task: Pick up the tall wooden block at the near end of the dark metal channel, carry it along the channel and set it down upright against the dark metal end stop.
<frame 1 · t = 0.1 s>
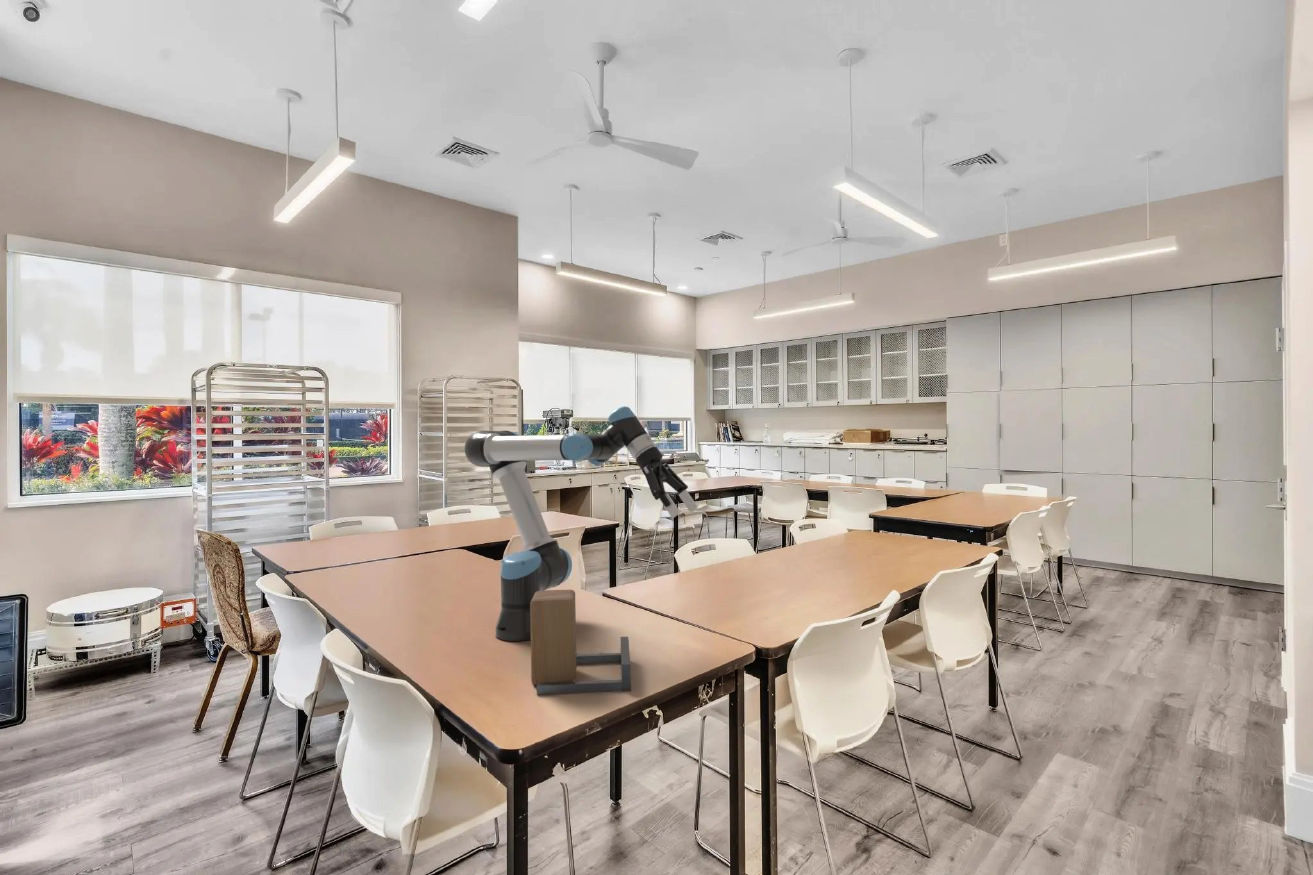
hand: (685, 512, 173), 36 cm above the table, tool tilted 35°, fingers open, 13 cm apart
end stop channel: (583, 676, 146), on the table
wooden block: (554, 678, 145), on the table
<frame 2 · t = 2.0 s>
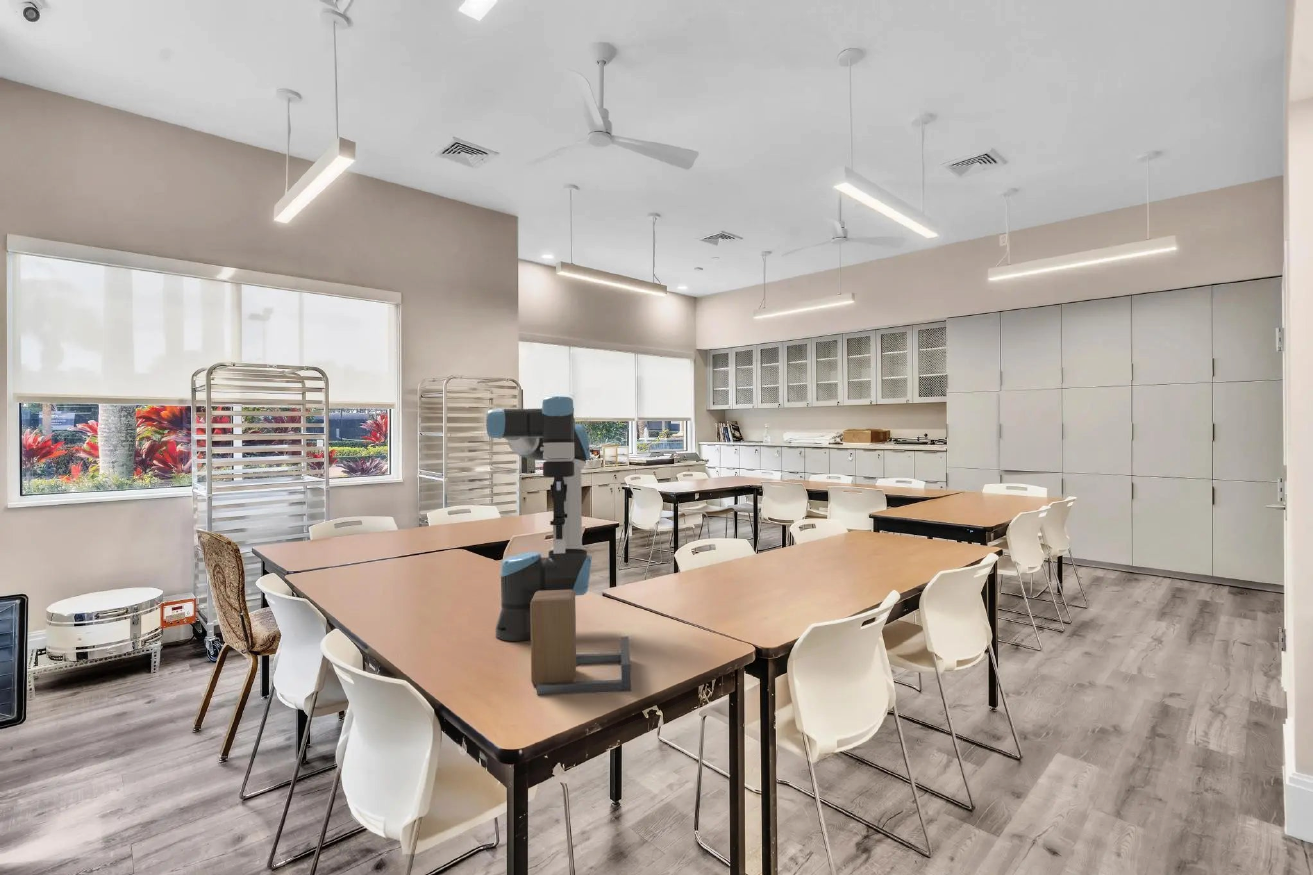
hand: (559, 548, 146), 31 cm above the table, tool pointing down, fingers open, 13 cm apart
nothing on the table moved.
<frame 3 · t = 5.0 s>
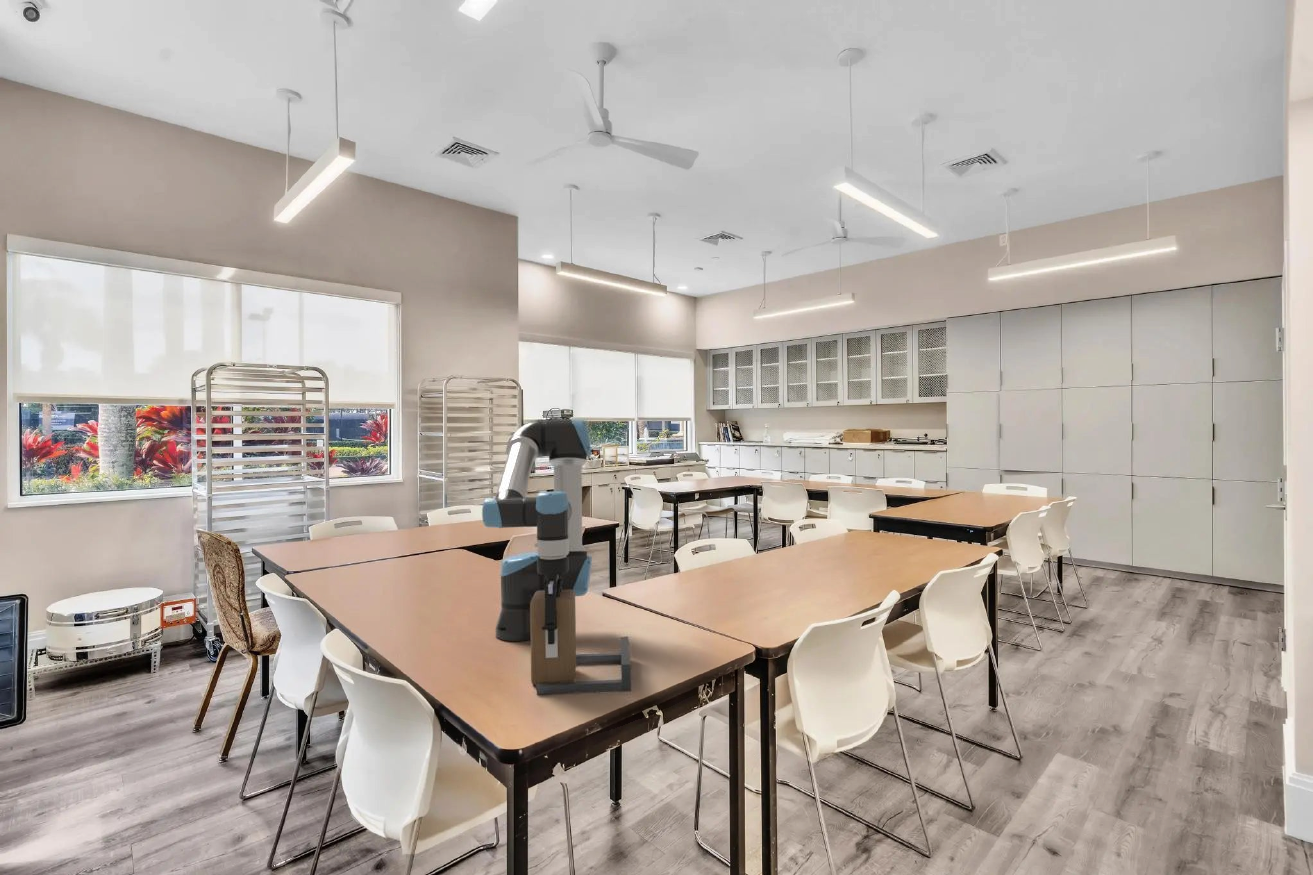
hand: (554, 649, 145), 7 cm above the table, tool pointing down, fingers closed on wooden block, 10 cm apart
wooden block: (554, 678, 145), on the table, touching gripper
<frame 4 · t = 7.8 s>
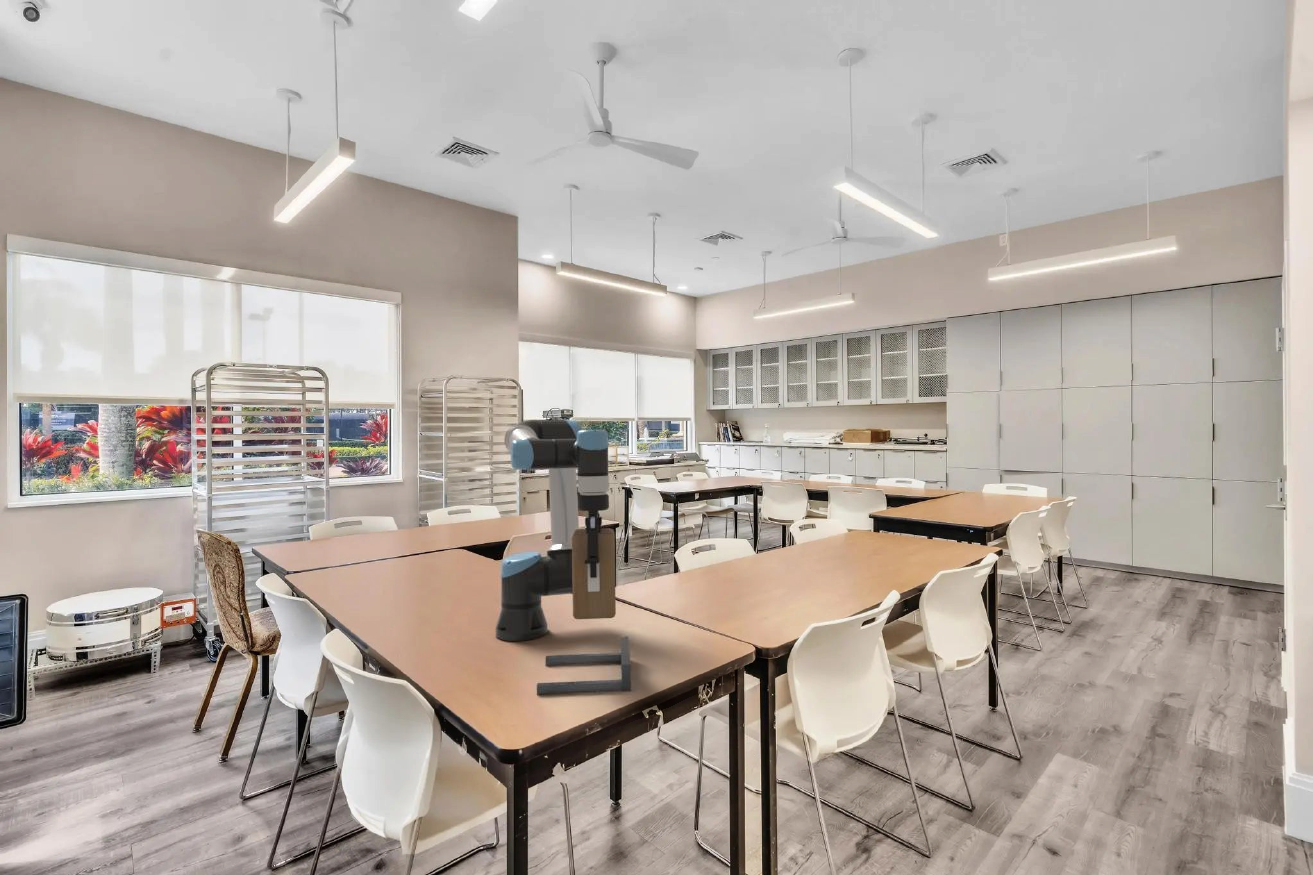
hand: (594, 585, 146), 22 cm above the table, tool pointing down, fingers closed on wooden block, 10 cm apart
wooden block: (594, 614, 146), point 15 cm above the table, touching gripper
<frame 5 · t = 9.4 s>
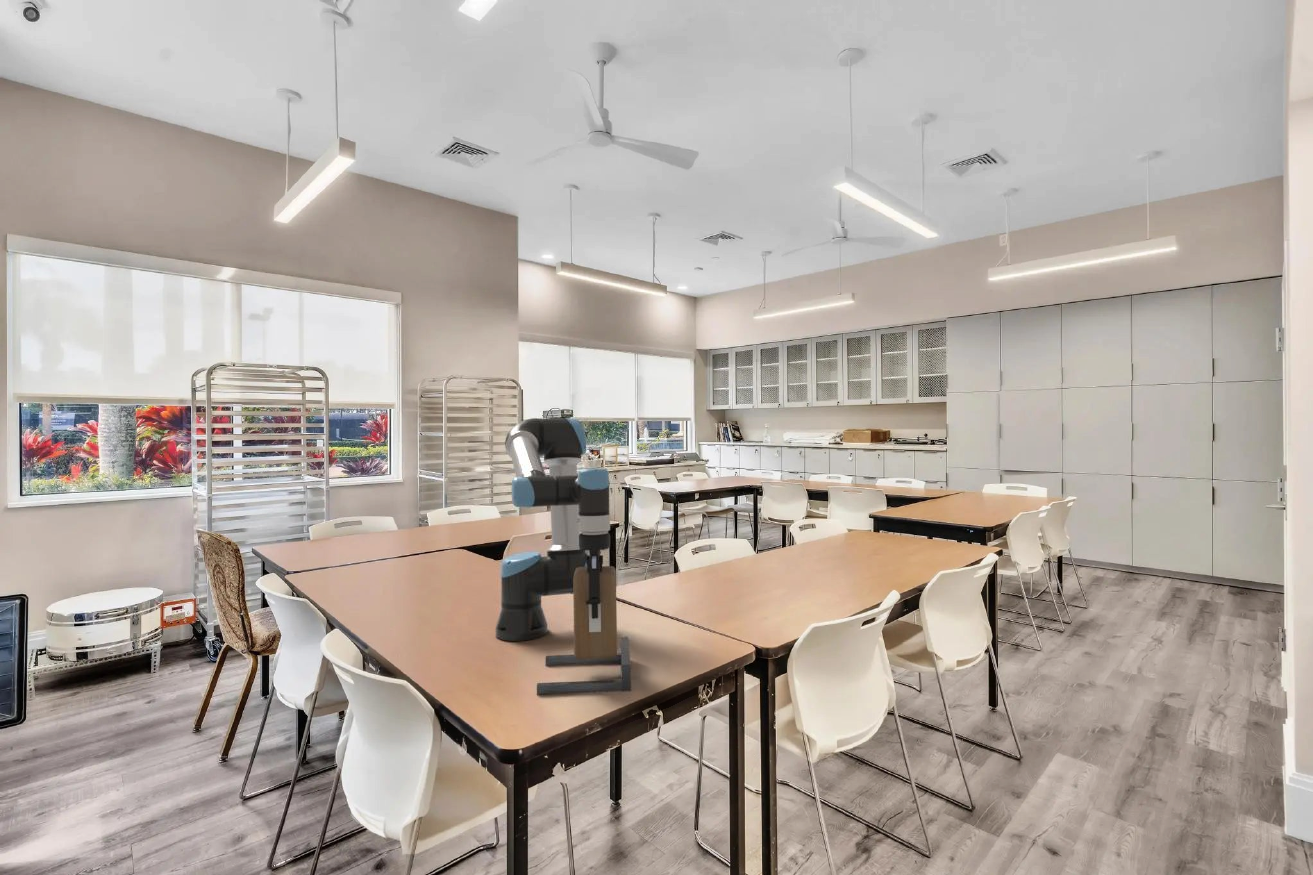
hand: (595, 624, 146), 12 cm above the table, tool pointing down, fingers closed on wooden block, 10 cm apart
wooden block: (596, 653, 146), point 5 cm above the table, touching gripper
when the fingers open (8 cm above the table, at t = 10.8 s): wooden block drops 1 cm, on the table.
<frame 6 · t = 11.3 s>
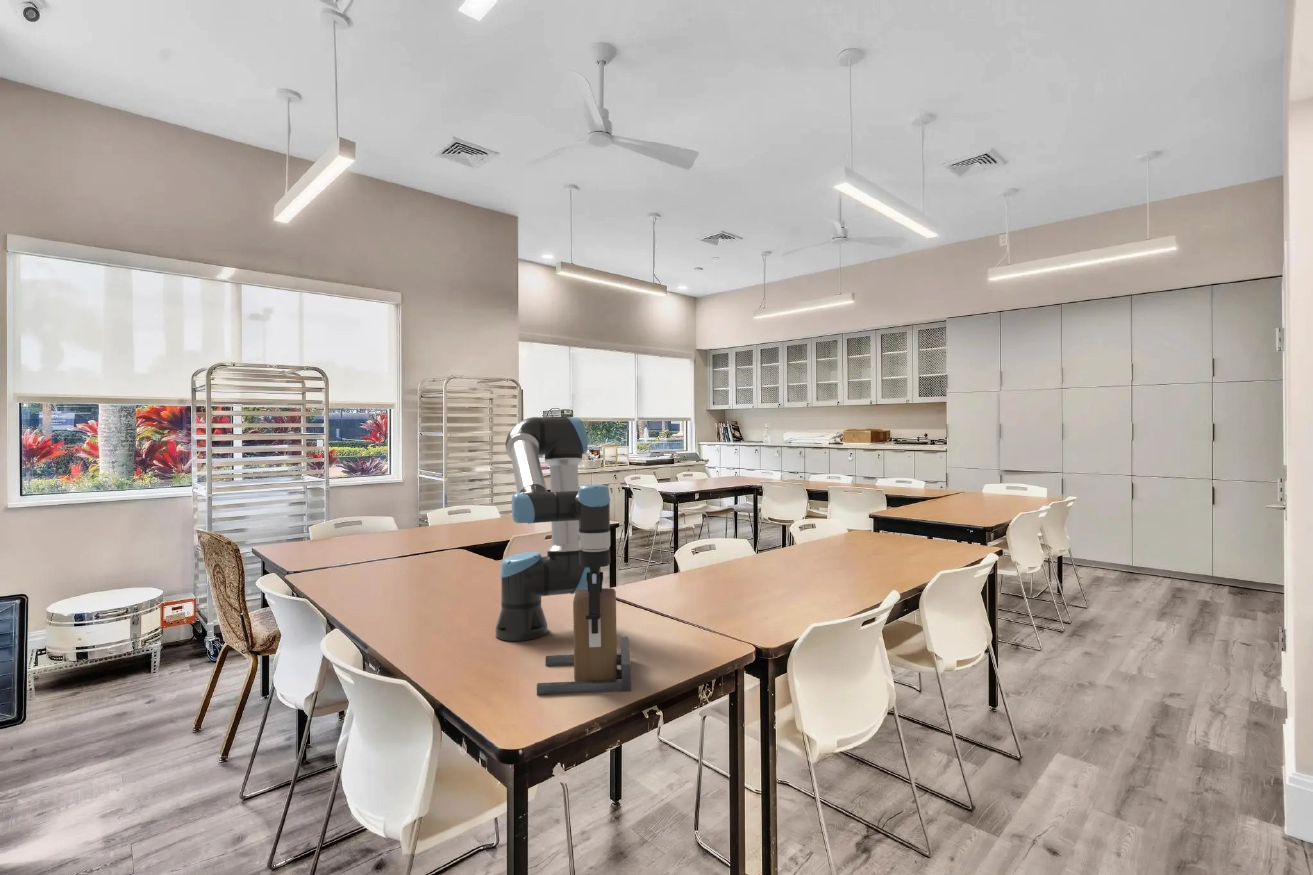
hand: (595, 637, 146), 9 cm above the table, tool pointing down, fingers open, 13 cm apart
wooden block: (596, 676, 146), on the table
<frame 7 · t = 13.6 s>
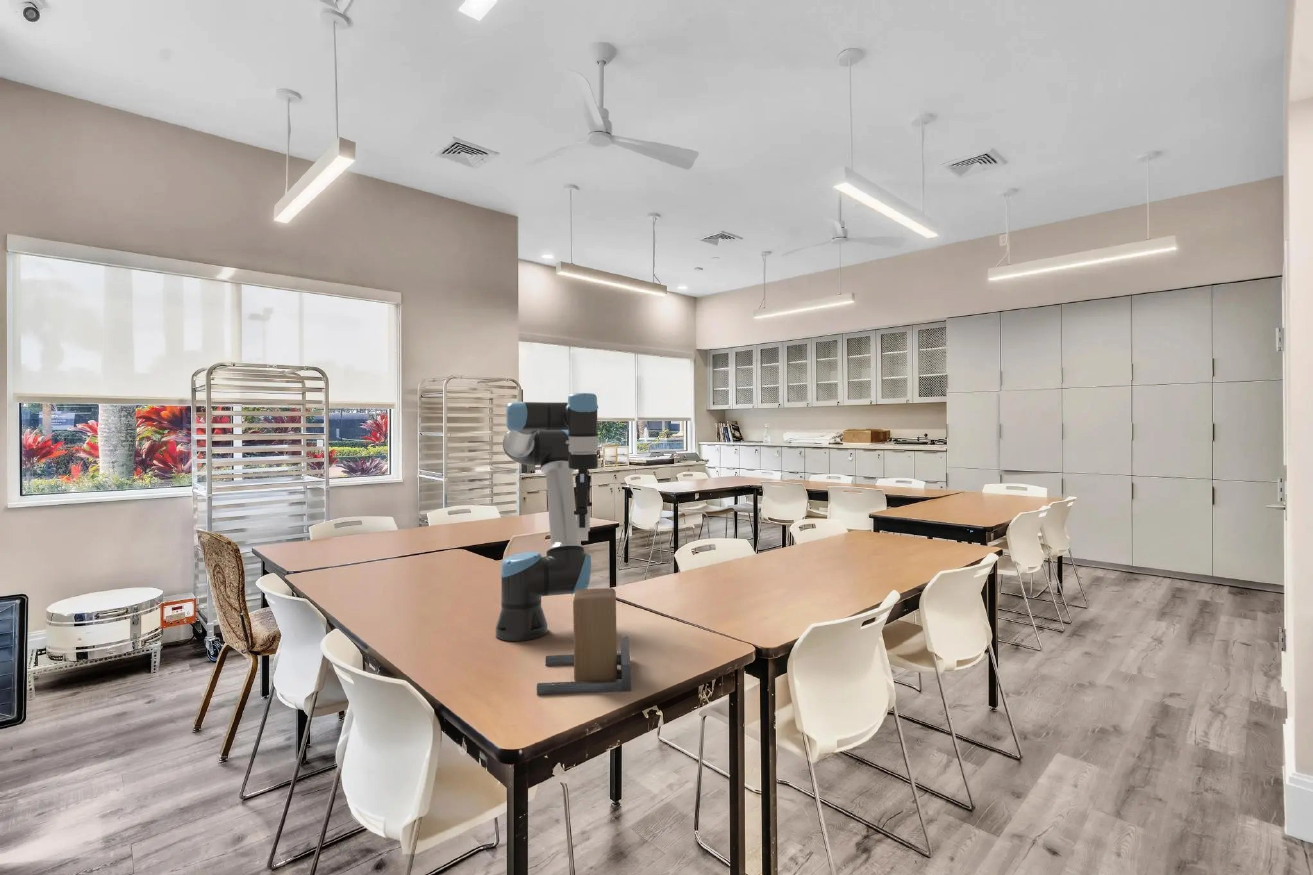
hand: (583, 535, 156), 32 cm above the table, tool pointing down, fingers open, 13 cm apart
nothing on the table moved.
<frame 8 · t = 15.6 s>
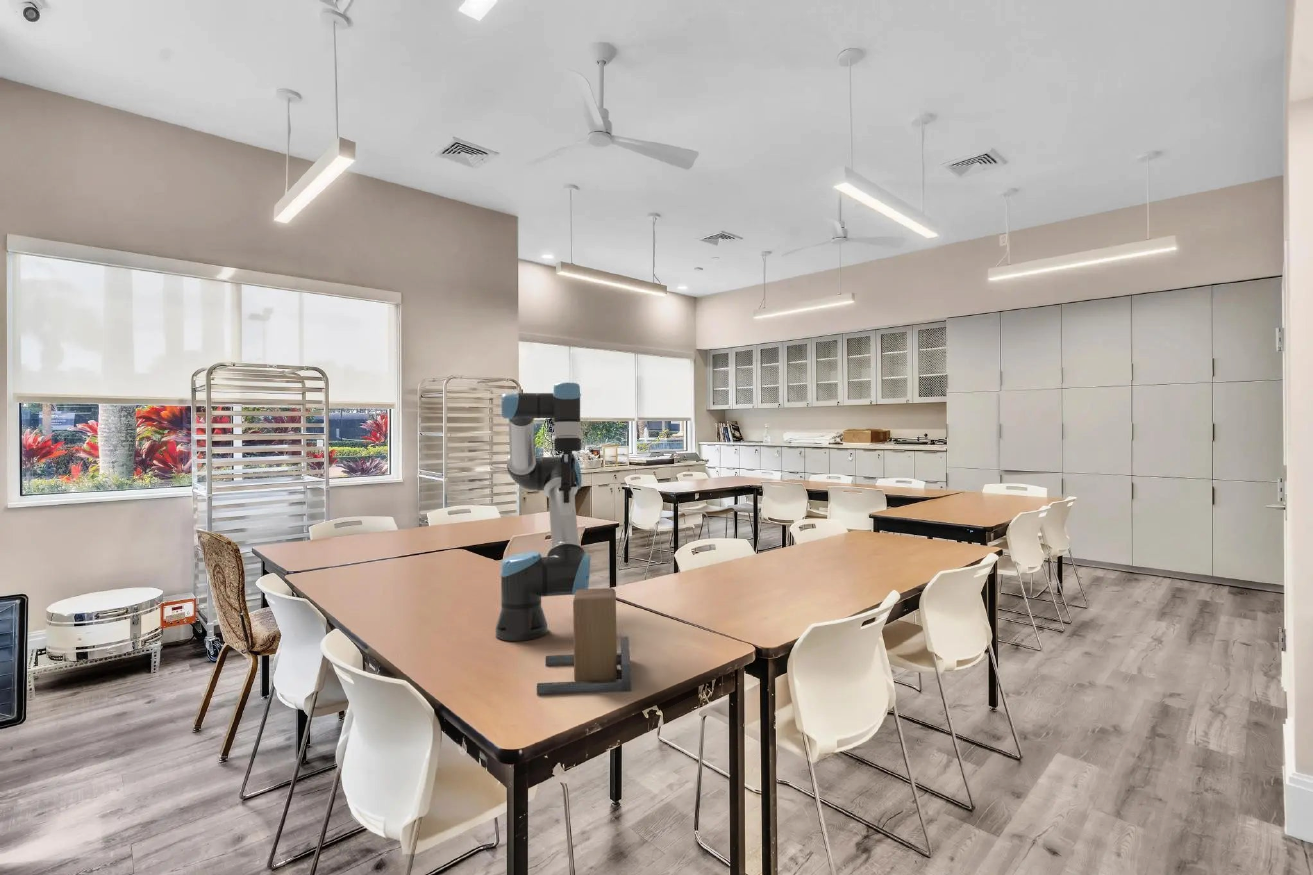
hand: (568, 512, 172), 37 cm above the table, tool pointing down, fingers open, 13 cm apart
nothing on the table moved.
at the end: wooden block 0.3 cm from the target spot, on the table; wooden block tilted 0°; the gripper is holding nothing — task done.
